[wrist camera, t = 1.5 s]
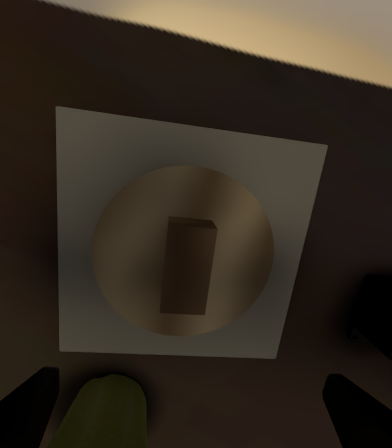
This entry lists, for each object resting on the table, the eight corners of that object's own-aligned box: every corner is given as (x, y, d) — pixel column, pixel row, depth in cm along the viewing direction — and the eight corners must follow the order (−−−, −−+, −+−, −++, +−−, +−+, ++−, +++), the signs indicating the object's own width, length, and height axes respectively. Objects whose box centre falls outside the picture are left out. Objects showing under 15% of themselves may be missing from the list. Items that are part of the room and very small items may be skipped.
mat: (319, 145, 18) (327, 145, 17) (271, 350, 23) (275, 358, 22) (62, 109, 16) (55, 106, 15) (64, 342, 21) (59, 351, 20)
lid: (285, 176, 18) (308, 180, 15) (253, 332, 21) (266, 360, 18) (96, 153, 16) (80, 152, 13) (93, 325, 19) (79, 355, 16)
